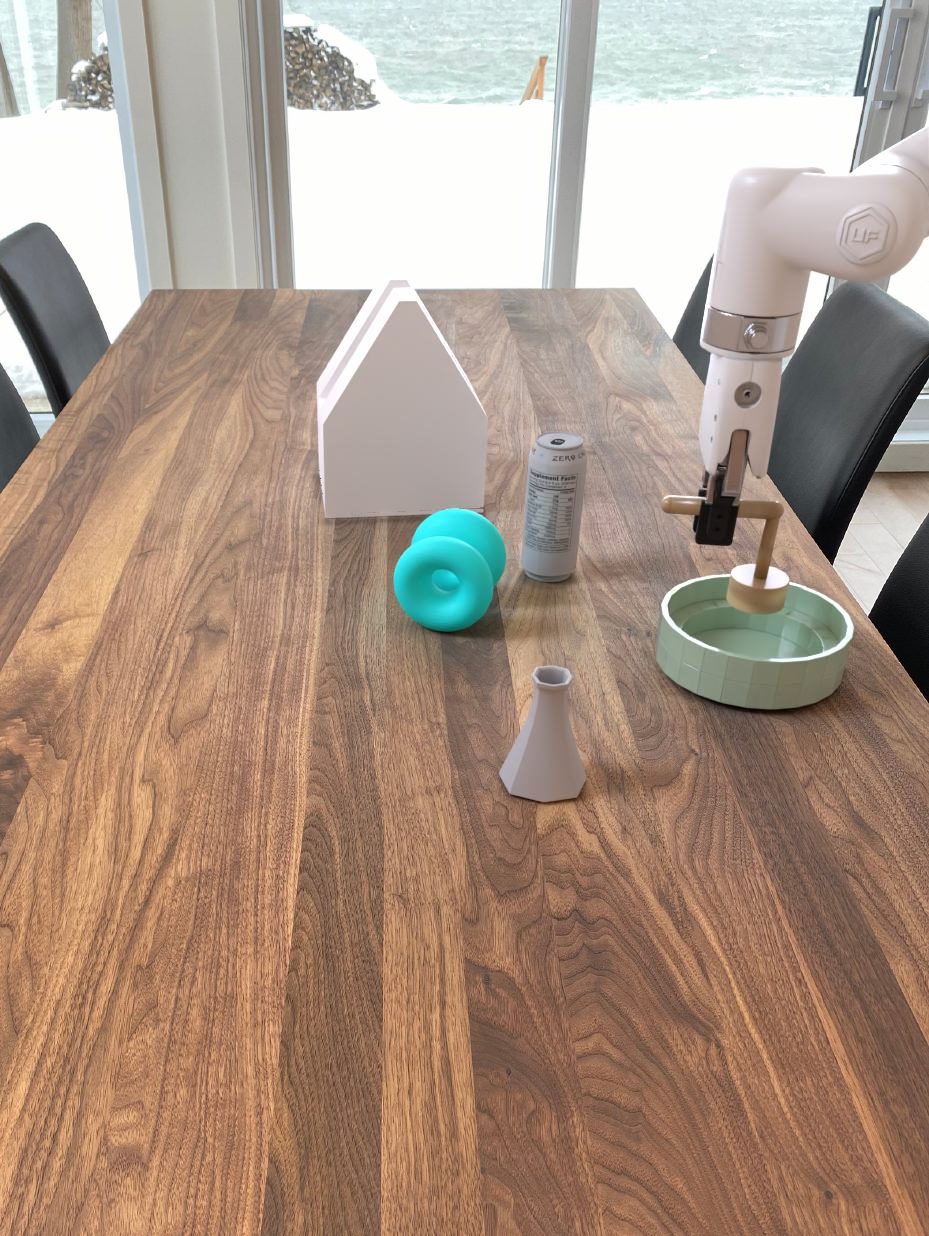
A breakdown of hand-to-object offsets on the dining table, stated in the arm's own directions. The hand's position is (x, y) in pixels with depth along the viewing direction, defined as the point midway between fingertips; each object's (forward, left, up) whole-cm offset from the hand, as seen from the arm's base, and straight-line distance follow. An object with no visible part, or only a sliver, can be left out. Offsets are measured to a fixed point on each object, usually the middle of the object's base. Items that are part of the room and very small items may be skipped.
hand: (711, 537), depth 106 cm
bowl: (-5, 0, -13) cm, 14 cm away
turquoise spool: (+24, -7, -13) cm, 28 cm away
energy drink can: (+14, -18, -13) cm, 26 cm away
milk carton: (+33, -39, -13) cm, 53 cm away
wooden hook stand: (-1, 0, -6) cm, 6 cm away
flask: (+14, +21, -13) cm, 28 cm away
